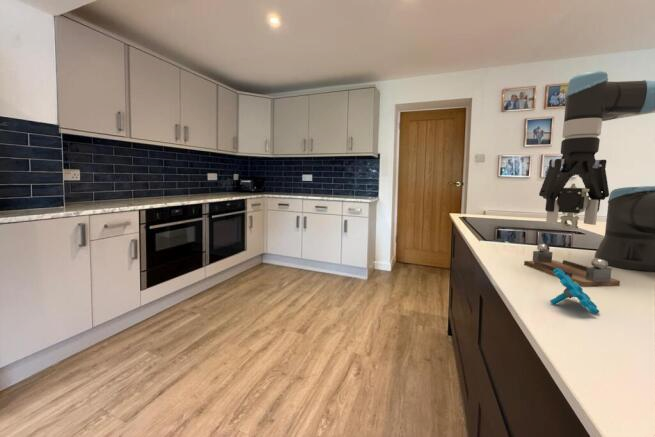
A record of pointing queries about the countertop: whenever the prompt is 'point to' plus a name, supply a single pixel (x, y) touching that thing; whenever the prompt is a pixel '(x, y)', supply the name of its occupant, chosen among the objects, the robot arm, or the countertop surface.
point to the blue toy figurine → (573, 292)
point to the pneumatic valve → (572, 205)
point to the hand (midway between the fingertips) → (570, 224)
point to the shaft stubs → (592, 273)
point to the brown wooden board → (570, 272)
